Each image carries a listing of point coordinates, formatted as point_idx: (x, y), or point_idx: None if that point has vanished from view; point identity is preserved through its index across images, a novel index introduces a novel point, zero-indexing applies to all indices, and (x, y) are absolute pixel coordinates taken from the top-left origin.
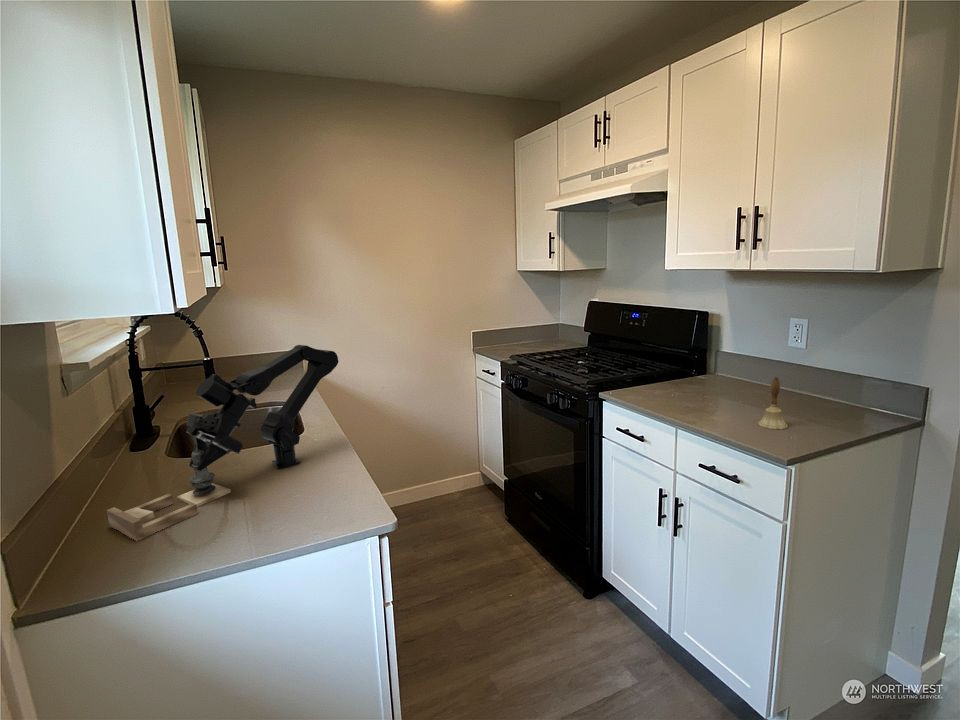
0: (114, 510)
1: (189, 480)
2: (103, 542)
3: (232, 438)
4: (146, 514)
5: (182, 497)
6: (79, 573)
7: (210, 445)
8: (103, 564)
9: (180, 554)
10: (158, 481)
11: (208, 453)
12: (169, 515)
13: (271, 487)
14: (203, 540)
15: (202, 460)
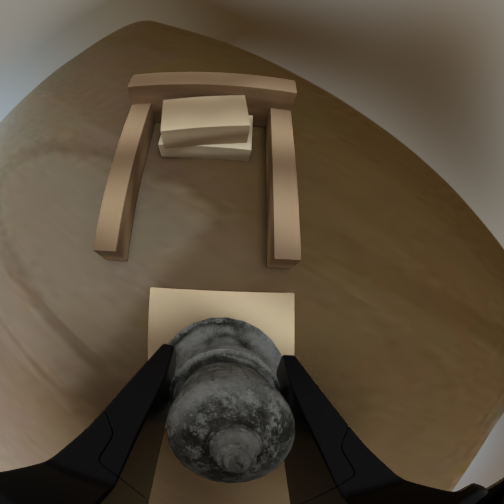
0: (270, 83)
1: (248, 324)
2: None
3: None
4: (166, 116)
5: (265, 298)
6: (149, 48)
7: (5, 476)
8: (132, 66)
9: (20, 141)
10: (459, 327)
11: (78, 445)
12: (117, 164)
13: None
14: (7, 187)
15: (123, 388)
